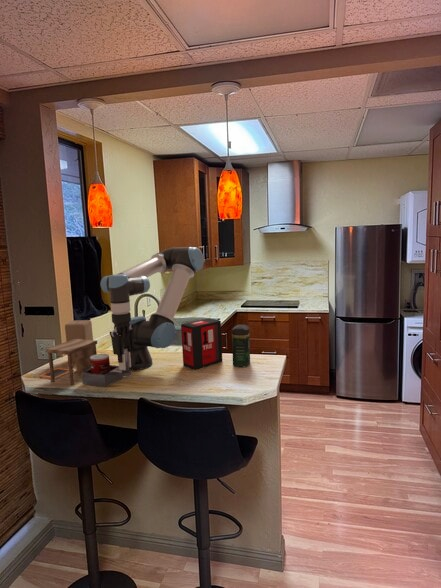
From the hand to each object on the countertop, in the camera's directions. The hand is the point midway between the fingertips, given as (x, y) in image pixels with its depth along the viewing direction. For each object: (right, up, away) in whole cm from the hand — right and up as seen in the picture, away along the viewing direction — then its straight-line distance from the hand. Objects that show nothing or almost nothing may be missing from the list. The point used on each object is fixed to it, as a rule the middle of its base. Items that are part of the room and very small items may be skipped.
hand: (125, 368), depth 165 cm
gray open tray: (-7, -7, +4) cm, 10 cm away
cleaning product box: (+31, -3, +23) cm, 39 cm away
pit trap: (-35, -6, +17) cm, 40 cm away
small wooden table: (-25, -6, +12) cm, 28 cm away
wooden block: (-30, -3, +36) cm, 47 cm away
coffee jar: (+49, -2, +20) cm, 53 cm away
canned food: (-12, -7, +6) cm, 15 cm away
